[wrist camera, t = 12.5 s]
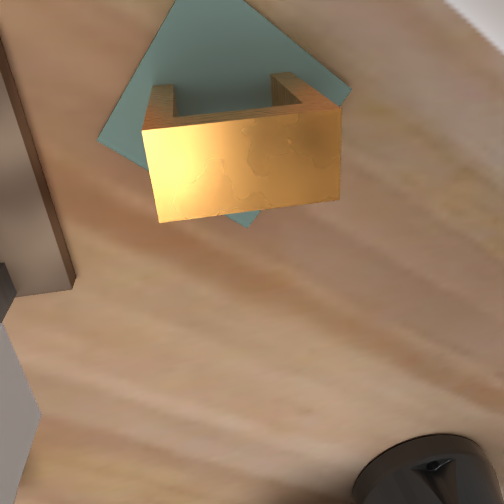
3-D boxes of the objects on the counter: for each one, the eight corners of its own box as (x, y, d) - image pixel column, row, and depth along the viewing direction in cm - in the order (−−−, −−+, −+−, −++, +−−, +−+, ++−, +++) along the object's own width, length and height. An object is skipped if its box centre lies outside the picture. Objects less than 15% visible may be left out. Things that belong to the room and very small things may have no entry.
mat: (347, 86, 29) (352, 89, 28) (245, 223, 32) (247, 228, 31) (196, -37, 24) (197, -38, 24) (98, 136, 28) (96, 140, 27)
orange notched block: (152, 85, 26) (141, 130, 18) (290, 71, 27) (341, 108, 19) (164, 154, 28) (159, 222, 20) (292, 139, 29) (339, 199, 21)
